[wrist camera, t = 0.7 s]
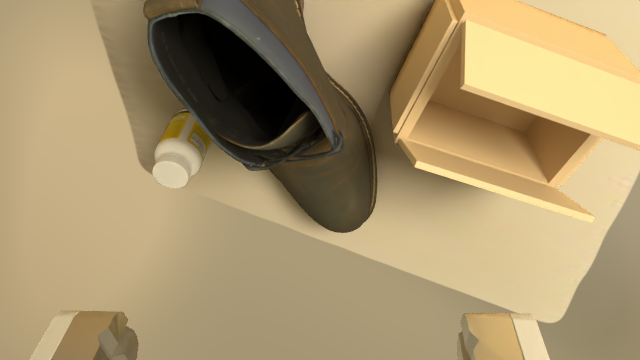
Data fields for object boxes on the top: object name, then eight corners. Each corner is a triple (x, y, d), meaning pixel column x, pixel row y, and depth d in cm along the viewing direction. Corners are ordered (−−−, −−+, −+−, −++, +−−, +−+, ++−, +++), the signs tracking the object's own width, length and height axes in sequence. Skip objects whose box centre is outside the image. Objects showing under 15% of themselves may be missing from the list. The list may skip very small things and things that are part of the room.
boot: (301, 222, 70) (284, 345, 55) (131, -65, 47) (19, 11, 31) (403, 197, 66) (416, 323, 51) (273, -135, 42) (223, -86, 27)
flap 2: (400, 138, 47) (417, 160, 40) (556, 188, 50) (595, 217, 43) (397, 143, 47) (414, 167, 41) (553, 193, 50) (592, 222, 43)
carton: (442, -29, 47) (458, 9, 39) (609, 36, 50) (655, 83, 42) (385, 91, 55) (388, 140, 48) (529, 139, 58) (555, 194, 51)
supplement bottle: (168, 134, 61) (141, 184, 54) (176, 101, 58) (149, 148, 51) (209, 149, 62) (188, 199, 55) (219, 116, 59) (199, 165, 52)
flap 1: (466, 19, 39) (464, 83, 35) (647, 87, 42) (663, 153, 38) (462, 24, 39) (460, 88, 36) (641, 91, 42) (656, 156, 39)
